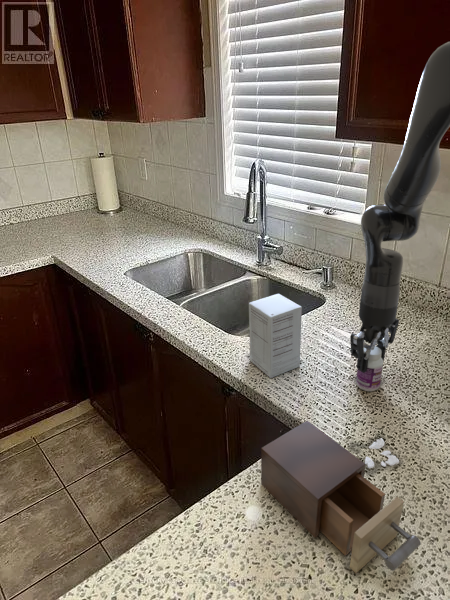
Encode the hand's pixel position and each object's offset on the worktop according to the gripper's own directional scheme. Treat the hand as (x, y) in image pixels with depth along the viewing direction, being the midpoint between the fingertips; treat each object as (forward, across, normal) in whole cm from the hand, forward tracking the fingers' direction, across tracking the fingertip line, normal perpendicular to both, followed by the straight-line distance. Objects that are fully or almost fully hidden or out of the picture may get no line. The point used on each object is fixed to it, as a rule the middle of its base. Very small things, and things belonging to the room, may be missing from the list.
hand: (370, 365), depth 101 cm
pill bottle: (+6, 0, 0) cm, 6 cm away
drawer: (+5, -33, -24) cm, 41 cm away
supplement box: (+6, -11, +20) cm, 24 cm away
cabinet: (+5, -33, -14) cm, 36 cm away
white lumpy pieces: (+6, -17, -15) cm, 24 cm away
